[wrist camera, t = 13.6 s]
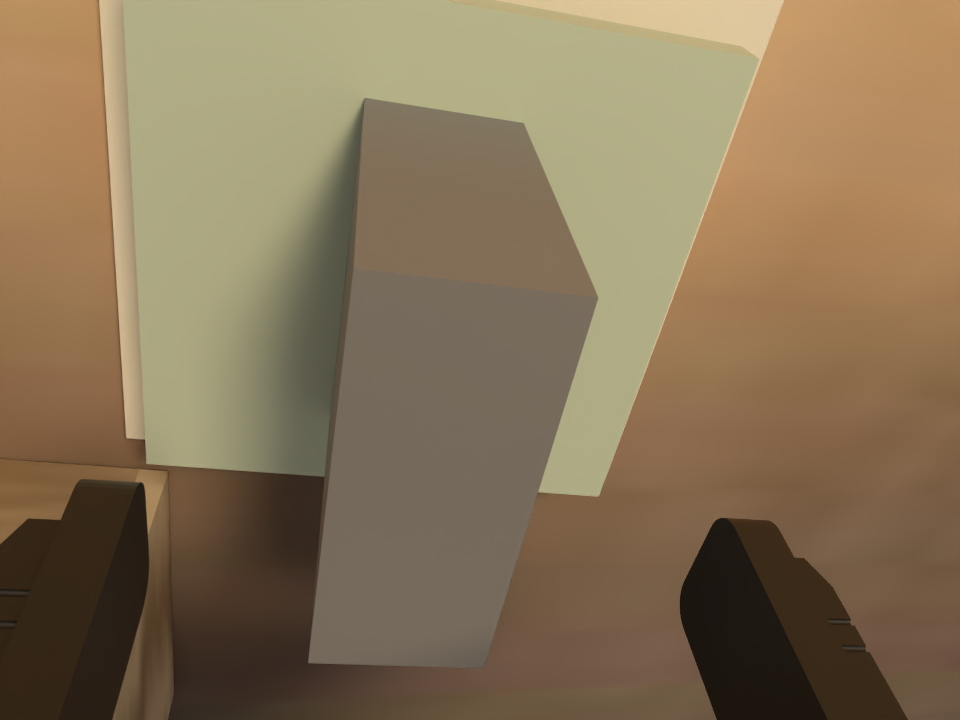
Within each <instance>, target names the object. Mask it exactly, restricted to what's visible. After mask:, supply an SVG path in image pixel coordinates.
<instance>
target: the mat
mask: <svg viewBox="0 0 960 720" xmlns="http://www.w3.org/2000/svg"><path fill="white" fill-rule="evenodd" d="M497 1H502V2H508V3H513V4H518V5H524V6H529V7H534V8H540V9H545V10H550V11H556V12H561V13H566V14H572V15H577V16H583V17H588V18H593V19H599V20H604V21H609V22H615V23H620V24H625V25H631V26H636V27H641V28H647V29H652V30H657V31H663V32H668V33H674V34H679V35H684V36H690V37H695V38H700V39H706V40H711V41H716V42H722V43H727V44H732V45H738V46H742V47H743V48H745V49H746V50H748V51H749V52H750V53H752V54H753V55H755V56H756V57H758V58H759V62H758V64H757V67H756V70H755V72H754V75H753V78H752V81H751V83H750V86H749V89H748V91H747V94H746V97H745V100H744V102H743V105H742V108H741V111H740V113H739V116H738V119H737V121H736V124H735V127H734V130H733V132H732V135H731V138H730V140H729V143H728V146H727V149H726V151H725V154H724V157H723V160H722V162H721V165H720V168H719V170H718V173H717V176H716V179H715V181H714V184H713V187H712V189H711V192H710V195H709V198H708V200H707V203H706V206H705V208H704V211H703V214H702V217H701V219H700V222H699V225H698V228H697V230H696V233H695V236H694V238H693V241H692V244H691V247H690V249H689V252H688V255H687V257H686V260H685V263H684V266H683V268H682V271H681V274H680V277H681V275H682V272H683V269H684V267H685V264H686V261H687V259H688V256H689V253H690V251H691V248H692V245H693V242H694V240H695V237H696V234H697V232H698V229H699V226H700V224H701V221H702V218H703V216H704V213H705V210H706V208H707V205H708V202H709V200H710V197H711V194H712V192H713V189H714V186H715V184H716V181H717V178H718V176H719V173H720V170H721V167H722V165H723V162H724V159H725V157H726V154H727V151H728V149H729V146H730V143H731V141H732V138H733V135H734V133H735V130H736V127H737V125H738V122H739V119H740V117H741V114H742V111H743V109H744V106H745V103H746V101H747V98H748V95H749V93H750V90H751V87H752V84H753V82H754V79H755V76H756V74H757V71H758V68H759V66H760V63H761V60H762V58H763V55H764V52H765V50H766V47H767V44H768V42H769V39H770V36H771V34H772V31H773V28H774V26H775V23H776V20H777V18H778V15H779V12H780V9H781V7H782V4H783V1H784V0H497ZM99 6H100V22H101V38H102V54H103V70H104V86H105V102H106V119H107V135H108V151H109V167H110V183H111V199H112V215H113V232H114V248H115V264H116V280H117V296H118V312H119V328H120V345H121V361H122V377H123V393H124V409H125V425H126V438H132V439H145V425H144V406H143V386H142V367H141V347H140V328H139V308H138V289H137V269H136V250H135V230H134V211H133V191H132V172H131V152H130V133H129V113H128V94H127V74H126V55H125V35H124V16H123V0H99ZM680 277H679V279H678V282H677V285H678V283H679V280H680ZM677 285H676V287H675V290H674V293H675V291H676V288H677ZM674 293H673V296H674ZM673 296H672V298H671V301H672V299H673ZM671 301H670V304H671ZM670 304H669V306H668V309H669V307H670ZM668 309H667V312H668ZM667 312H666V315H667ZM666 315H665V317H666ZM665 317H664V320H665ZM664 320H663V323H664ZM663 323H662V325H661V328H662V326H663ZM661 328H660V331H661ZM660 331H659V334H660ZM659 334H658V336H659ZM658 336H657V339H658ZM657 339H656V342H657ZM656 342H655V344H656ZM654 347H655V345H654ZM654 347H653V350H654ZM653 350H652V352H653ZM651 355H652V353H651ZM651 355H650V358H651ZM650 358H649V360H650ZM648 363H649V361H648ZM647 366H648V364H647ZM647 366H646V368H647ZM645 371H646V369H645ZM644 374H645V372H644ZM644 374H643V376H644ZM642 379H643V377H642ZM641 382H642V380H641ZM640 384H641V383H640ZM639 387H640V385H639ZM638 390H639V388H638ZM637 392H638V391H637ZM636 395H637V394H636ZM635 398H636V396H635ZM634 400H635V399H634ZM633 403H634V402H633ZM632 406H633V404H632ZM631 409H632V407H631ZM630 411H631V410H630ZM629 414H630V413H629ZM628 417H629V415H628ZM627 419H628V418H627ZM626 422H627V421H626ZM625 425H626V423H625ZM624 427H625V426H624ZM623 430H624V429H623ZM622 433H623V432H622ZM621 435H622V434H621ZM620 438H621V437H620ZM619 441H620V440H619ZM618 443H619V442H618ZM617 446H618V445H617ZM616 449H617V448H616ZM614 454H615V453H614ZM613 457H614V456H613ZM610 465H611V464H610ZM607 473H608V472H607Z"/></svg>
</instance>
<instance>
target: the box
mask: <svg viewBox="0 0 960 720" xmlns="http://www.w3.org/2000/svg"><path fill="white" fill-rule="evenodd" d="M81 479H93V480H110V481H127V482H142V483H143V484H144V488H145V496H146V512H147V528H148V544H149V579H148V587H147V593H146V599H145V603H144V608H143V611H142V615H141V619H140V622H139V626H138V629H137V633H136V637H135V640H134V644H133V647H132V651H131V654H130V658H129V662H128V665H127V669H126V672H125V676H124V680H123V683H122V687H121V690H120V694H119V698H118V701H117V705H116V708H115V712H114V715H113V719H112V720H168V717H169V713H170V709H171V705H172V700H173V696H174V670H173V631H172V592H171V553H170V514H169V475H168V471H158V470H145V469H131V468H118V467H104V466H91V465H77V464H64V463H50V462H37V461H23V460H10V459H0V544H1V543H2V542H3V541H4V540H5V539H6V538H7V537H9V536H10V535H11V534H12V533H13V532H14V531H15V530H16V529H17V528H18V527H19V526H21V525H22V524H23V523H24V522H25V521H26V520H27V519H28V518H31V519H51V520H61V518H62V515H63V513H64V511H65V508H66V506H67V503H68V501H69V499H70V496H71V494H72V492H73V489H74V487H75V485H76V484H77V482H78V481H79V480H81Z"/></svg>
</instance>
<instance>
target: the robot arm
mask: <svg viewBox="0 0 960 720" xmlns="http://www.w3.org/2000/svg"><path fill="white" fill-rule="evenodd" d="M148 579H149V544H148V528H147V512H146V496H145V488H144V484H143V483H142V482H127V481H110V480H93V479H81V480H79V481H78V482H77V484H76V485H75V487H74V489H73V492H72V494H71V496H70V499H69V501H68V503H67V506H66V508H65V511H64V513H63V515H62V518H61V520H51V519H31V518H28V519H27V520H26V521H25V522H24V523H23V524H22V525H21V526H19V527H18V528H17V529H16V530H15V531H14V532H13V533H12V534H11V535H10V536H9V537H7V538H6V539H5V540H4V541H3V542H2V543H1V544H0V720H112V719H113V715H114V712H115V708H116V705H117V701H118V698H119V694H120V690H121V687H122V683H123V680H124V676H125V672H126V669H127V665H128V662H129V658H130V654H131V651H132V647H133V644H134V640H135V637H136V633H137V629H138V626H139V622H140V619H141V615H142V611H143V608H144V603H145V599H146V593H147V587H148ZM680 614H681V620H682V625H683V628H684V631H685V634H686V636H687V639H688V642H689V644H690V647H691V650H692V653H693V655H694V658H695V661H696V664H697V666H698V669H699V672H700V675H701V677H702V680H703V683H704V686H705V688H706V691H707V694H708V696H709V699H710V702H711V705H712V707H713V710H714V713H715V716H716V718H717V720H908V719H907V717H906V715H905V714H904V712H903V710H902V708H901V707H900V705H899V703H898V701H897V700H896V698H895V696H894V694H893V693H892V691H891V689H890V687H889V686H888V684H887V682H886V680H885V678H884V677H883V675H882V673H881V671H880V670H879V668H878V666H877V664H876V663H875V661H874V659H873V657H872V656H871V654H870V652H866V650H865V646H866V645H865V643H864V642H863V640H862V638H861V636H860V635H859V633H858V631H857V629H856V627H855V626H851V624H850V620H851V619H850V617H849V615H848V613H847V612H846V610H845V608H844V606H843V605H842V603H841V601H840V599H839V598H838V596H837V594H836V592H835V591H834V589H833V587H832V586H831V585H830V584H829V583H828V582H827V581H826V580H825V579H824V578H823V577H822V576H821V575H820V574H819V573H818V572H817V571H816V570H815V569H814V568H813V567H812V566H811V565H810V564H809V563H808V562H807V561H806V560H805V559H804V558H794V556H793V554H792V553H791V551H790V549H789V547H788V545H787V543H786V541H785V540H784V538H783V536H782V534H781V532H780V531H779V529H778V527H777V526H776V525H775V524H774V523H772V522H770V521H766V520H749V519H732V518H720V519H718V520H716V521H715V522H714V523H713V525H712V527H711V529H710V531H709V533H708V535H707V537H706V539H705V541H704V543H703V545H702V547H701V549H700V551H699V553H698V555H697V557H696V559H695V561H694V563H693V565H692V567H691V569H690V571H689V573H688V575H687V577H686V579H685V581H684V583H683V586H682V590H681V595H680Z"/></svg>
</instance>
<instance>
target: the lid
mask: <svg viewBox="0 0 960 720" xmlns="http://www.w3.org/2000/svg"><path fill="white" fill-rule="evenodd" d="M123 16H124V35H125V55H126V74H127V94H128V113H129V133H130V152H131V172H132V191H133V211H134V230H135V250H136V269H137V289H138V308H139V328H140V347H141V367H142V386H143V406H144V425H145V445H146V464H155V465H169V466H183V467H197V468H211V469H225V470H238V471H252V472H266V473H280V474H294V475H308V476H321V477H324V488H323V499H322V511H321V522H320V533H319V545H318V556H317V567H316V579H315V590H314V601H313V613H312V624H311V635H310V647H309V658H308V663H320V664H354V665H387V666H420V667H453V668H484V665H485V662H486V659H487V656H488V652H489V649H490V646H491V643H492V640H493V636H494V633H495V630H496V627H497V623H498V620H499V617H500V614H501V611H502V607H503V604H504V601H505V598H506V594H507V591H508V588H509V585H510V582H511V578H512V575H513V572H514V569H515V565H516V562H517V559H518V556H519V553H520V549H521V546H522V543H523V540H524V536H525V533H526V530H527V527H528V523H529V520H530V517H531V514H532V511H533V507H534V504H535V501H536V498H537V494H538V492H543V493H557V494H571V495H585V496H599V494H600V491H601V489H602V486H603V483H604V481H605V478H606V475H607V472H608V470H609V467H610V464H611V462H612V459H613V456H614V453H615V451H616V448H617V445H618V442H619V440H620V437H621V434H622V432H623V429H624V426H625V423H626V421H627V418H628V415H629V413H630V410H631V407H632V404H633V402H634V399H635V396H636V394H637V391H638V388H639V385H640V383H641V380H642V377H643V374H644V372H645V369H646V366H647V364H648V361H649V358H650V355H651V353H652V350H653V347H654V345H655V342H656V339H657V336H658V334H659V331H660V328H661V325H662V323H663V320H664V317H665V315H666V312H667V309H668V306H669V304H670V301H671V298H672V296H673V293H674V290H675V287H676V285H677V282H678V279H679V277H680V274H681V271H682V268H683V266H684V263H685V260H686V257H687V255H688V252H689V249H690V247H691V244H692V241H693V238H694V236H695V233H696V230H697V228H698V225H699V222H700V219H701V217H702V214H703V211H704V208H705V206H706V203H707V200H708V198H709V195H710V192H711V189H712V187H713V184H714V181H715V179H716V176H717V173H718V170H719V168H720V165H721V162H722V160H723V157H724V154H725V151H726V149H727V146H728V143H729V140H730V138H731V135H732V132H733V130H734V127H735V124H736V121H737V119H738V116H739V113H740V111H741V108H742V105H743V102H744V100H745V97H746V94H747V91H748V89H749V86H750V83H751V81H752V78H753V75H754V72H755V70H756V67H757V64H758V62H759V58H758V57H756V56H755V55H753V54H752V53H750V52H749V51H748V50H746V49H745V48H743V47H742V46H738V45H732V44H727V43H722V42H716V41H711V40H706V39H700V38H695V37H690V36H684V35H679V34H674V33H668V32H663V31H657V30H652V29H647V28H641V27H636V26H631V25H625V24H620V23H615V22H609V21H604V20H599V19H593V18H588V17H583V16H577V15H572V14H566V13H561V12H556V11H550V10H545V9H540V8H534V7H529V6H524V5H518V4H513V3H508V2H502V1H497V0H123Z"/></svg>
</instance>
